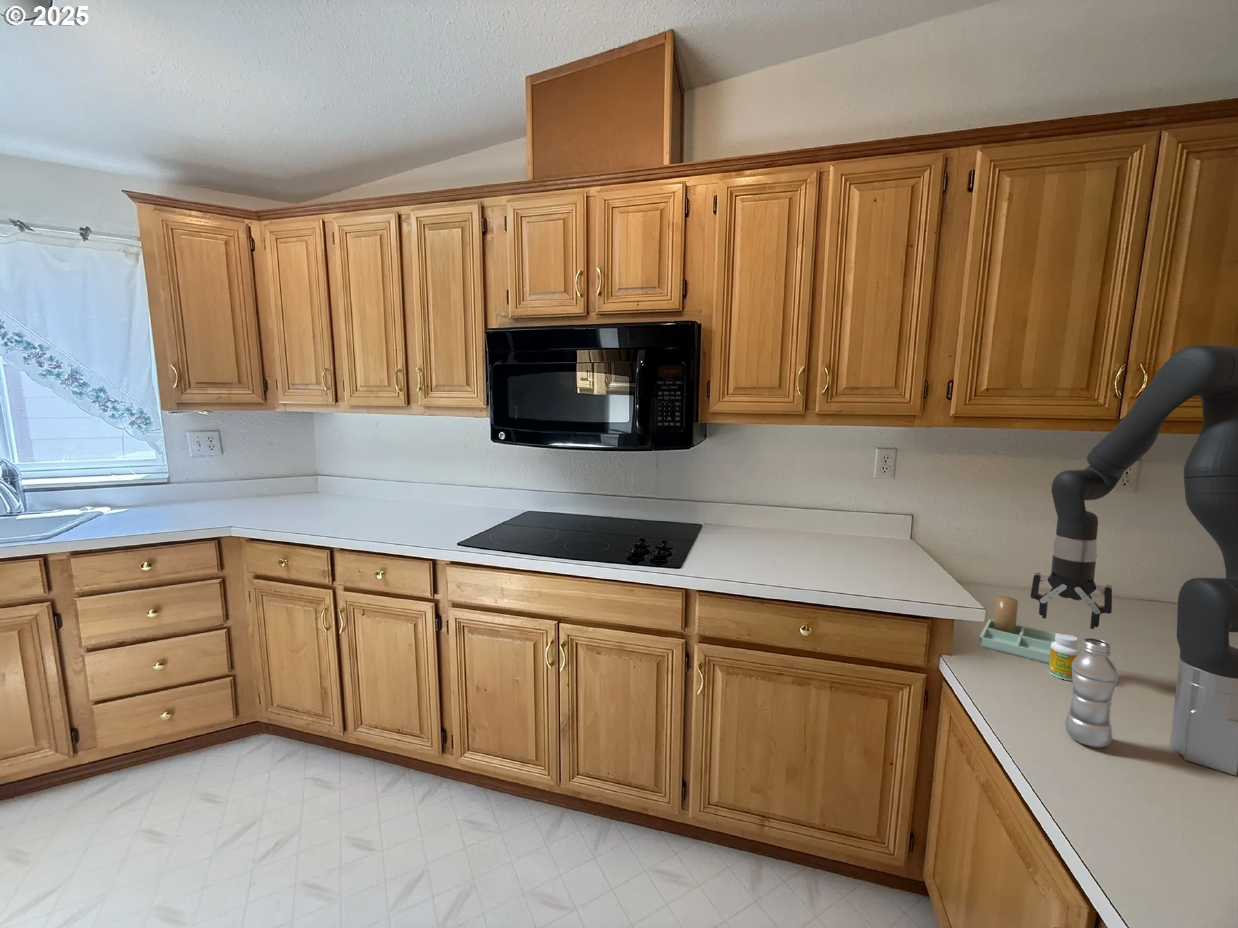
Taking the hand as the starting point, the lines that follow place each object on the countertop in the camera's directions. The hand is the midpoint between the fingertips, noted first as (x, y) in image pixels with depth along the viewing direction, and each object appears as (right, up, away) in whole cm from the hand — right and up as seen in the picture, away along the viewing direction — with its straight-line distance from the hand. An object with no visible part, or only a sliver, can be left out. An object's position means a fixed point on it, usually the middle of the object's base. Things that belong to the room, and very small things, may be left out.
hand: (1067, 622), depth 122 cm
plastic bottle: (-15, -16, -22) cm, 32 cm away
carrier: (+2, -11, +17) cm, 20 cm away
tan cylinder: (+2, -10, +22) cm, 24 cm away
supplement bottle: (0, -13, +1) cm, 13 cm away
